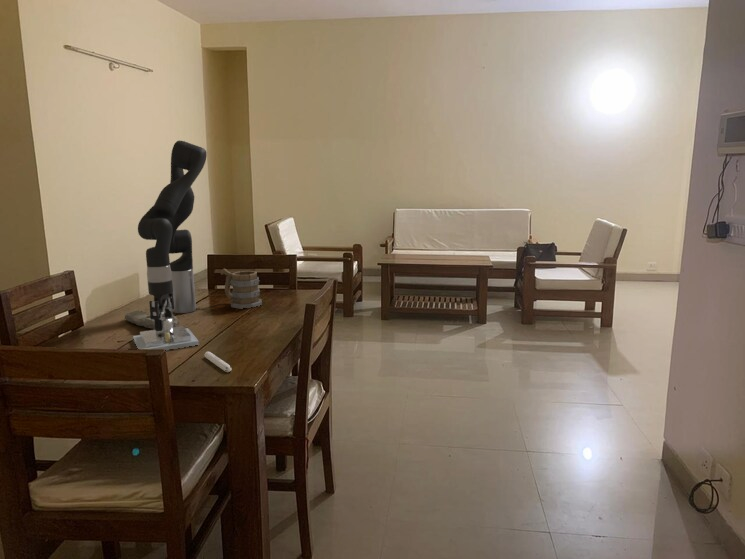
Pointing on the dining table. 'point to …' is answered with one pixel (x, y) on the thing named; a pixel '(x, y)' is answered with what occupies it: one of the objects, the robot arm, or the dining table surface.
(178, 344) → the base plate
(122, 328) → the dining table surface
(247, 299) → the tankard
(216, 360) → the marker
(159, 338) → the flange plate
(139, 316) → the long grey stone
